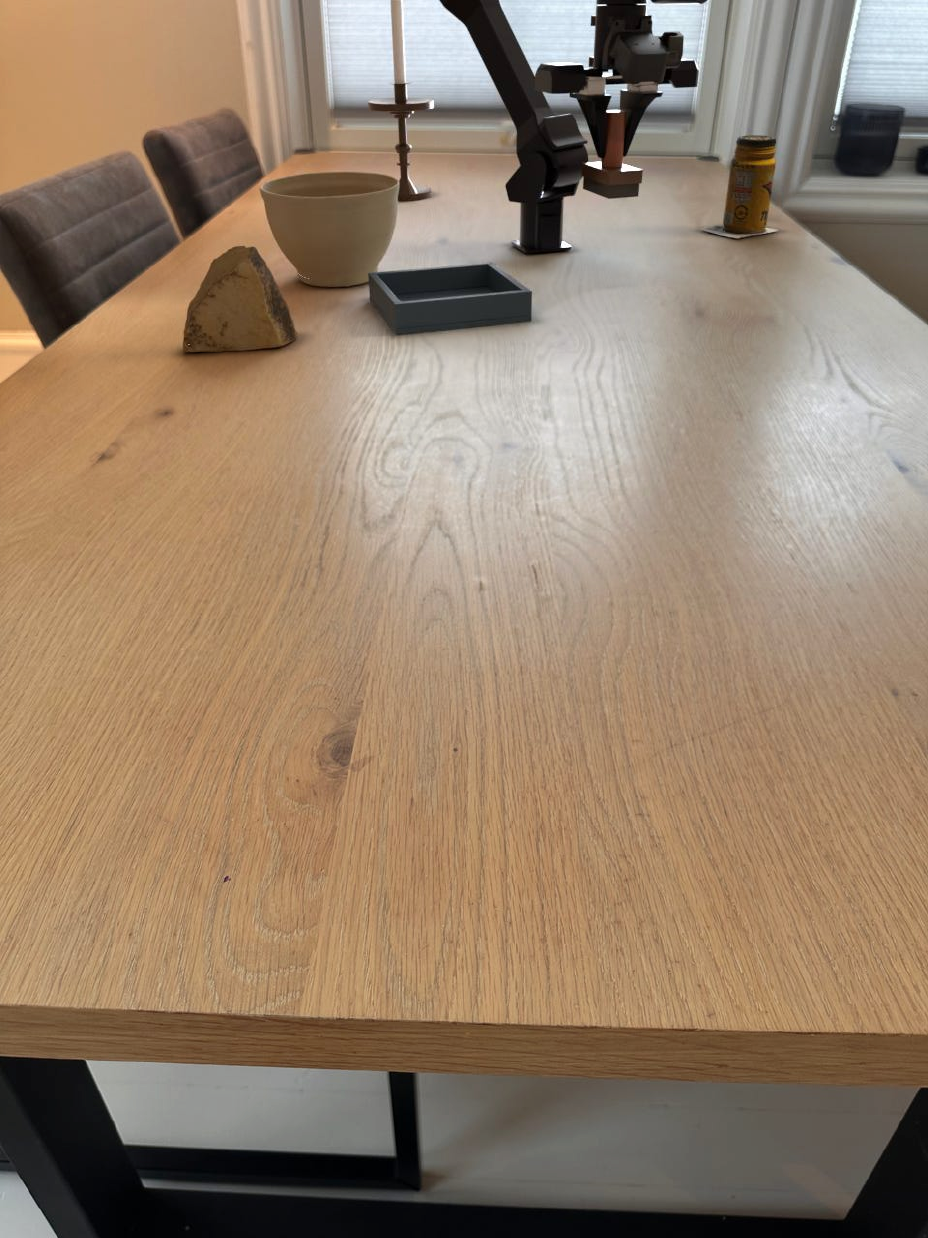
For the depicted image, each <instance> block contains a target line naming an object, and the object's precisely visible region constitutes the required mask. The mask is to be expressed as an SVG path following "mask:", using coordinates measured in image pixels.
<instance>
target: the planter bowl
mask: <svg viewBox="0 0 928 1238" xmlns="http://www.w3.org/2000/svg"><path fill="white" fill-rule="evenodd" d="M399 180H400V179H398V178H397V177H394V176H391V175H388V174H384V173H376V172H363V171H319V172H308V173H300V174H293V175H292V174H291V175H286V176H281V177H277V178H273V179H269V180H266V181H265V182H263V183H261V184H260V185H259V193H260V196H261V198H262V200H263V205H264V211H265V216H266V220H267V223H268V226H269V229H270V231H271V234H272V236H273V238H274V240H275V242H276V244H277V245H278V247H279V249H280V251H281V252H282V254H283V255H284V256H285V258H286V260H288V261H289V263H290V264H291V265H292V266H293V267H294V268H295V269H296V272H297V276H298V279H299V280H300V281H301V282H302V283H304V284H307V285H310V286H315V287H326V288H341V287H346V288H349V287H351V286H358V285H362V284H366V283H369V278H368V273H374V272H379V271H378V269H379V264H380V263H381V261H382V260H383V258H384V257H385V255H386V253H387V251H388V249H389V247H390V244H391V242H392V239H393V236H394V232H395V229H396V226H397V219H398V211H399V209H398V208H399V200H398V192H399ZM298 273H299V274H300V275H302V276H303V277H302V276H300V275H299V274H298ZM304 277H306V278H304ZM308 278H309V279H308Z"/></svg>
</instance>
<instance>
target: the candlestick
mask: <svg viewBox="0 0 928 1238" xmlns="http://www.w3.org/2000/svg"><path fill="white" fill-rule="evenodd" d="M403 7H404V5H403V0H390V17H391V18H390V19H391V38H392V40H391V41H392V59H393V77H394V78H393V81H391V82H388V84H389V85H393V94H394V97H392V98H391V97H390V98H379V99H378V98H377V99H371V100H368V101H367V106H368V107H367V108H368V110H369V111H375V112H388V114H390V115H392V116H393V118H395V119H397V131H398V143H397V144H396V145H395V146H394V150H395V152H396V154H398V161H397V162H396V166H399V173H400V174H399V175H400V177H399V179H398V180H399V192H398V202H399V201H404V202H405V201H417V200H418V201H419V200H424V199H428V198H430V197H432V188H431V187H428V186H425V185H424V186H422V185H415V184H413V182H412V180H411V178H410V177H409V166H411V165H412V162H411V161H409V154H410V153H411V151H412V145H411V144H410V143H408V135H407V134H408V133H407V119H408V118H411V115H413V114H414V113H415V112H419V111H428V110H432V109H434V108H435V99H432V98H428V97H427V98H425V97H408V85H409V84H413V82H412V81H407V78H406V77H407V74H406V53H405V52H406V49H405V32H404V31H405V29H404V27H405V26H404V8H403Z"/></svg>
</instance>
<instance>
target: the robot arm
mask: <svg viewBox="0 0 928 1238" xmlns="http://www.w3.org/2000/svg"><path fill="white" fill-rule="evenodd" d="M438 1H439V2H440V4H441V5H442V7H443V8H444V9H445V10H446V11H447V12H449V13H450V14H451V15H453V16H454V17H455V18H456V19H457V20H459V22H461V23H462V24H463V25H464V26H465V28H466V30H467V32H468V34H469V36H470V38H471V40H472V43H473V44H474V46H475V48H476V50H477V52H478V54H479V57H481V60H482V62H483V64H484V66H485V69H486V70H487V72H488V74H489V77H490V78H491V80H492V83H493V84H494V86H495V89H496V91H497V93H498V94H499V97H500V99H501V101H502V103H503V105H504V108H505V109H506V111H507V113H508V115H509V117H510V119H511V122H512V123H513V125H514V128H515V131H516V144H515V145H516V148H515V149H516V150H515V151H516V152H515V153H516V157H517V160H518V163H519V166H518V168H517V169H516V171H515V172H514V173H513V174H512V175H511V176H510V178H509V179H508V181H506V183H505V185H504V186H505V191H506V195H507V200H508V202H510V203H518V204H519V205H520V207H519V208H520V210H519V211H520V212H519V213H520V214H519V239H513V240H512V239H511V244H510V245H512V246H513V247H514V248H516V249H518V250H519V251H521V252H523V253H524V254H540V253H551V252H562V251H570V250H572V245H570V244H568V243H567V242H566V241H563V234H564V233H563V232H564V231H563V229H564V203H565V198H568V197H575V196H576V194H577V190H578V187H579V184H580V182H581V180H582V179H583V176H581V173H582V163H589V154H588V151H587V148H586V146H585V145H587V144H588V143H589V141H588V140H587V139H586V138H585V137H584V136H583V134H582V133H581V130H580V128H579V125H578V121H577V119H576V118H575V116H574V115H573V113H566V114H560V115H559V114H557V113H556V112H555V111H553V109H552V108H551V107H550V105H549V102H548V101H547V98H546V97H545V94H544V93H546V94H550V95H551V94H552V95H563V94H564V95H565V94H569V98H572V99H576V101H577V103H578V105H579V108H580V110H581V112H582V114H583V116H584V119H585V122H586V124H587V127H588V131H589V133H590V136H591V139H592V143H593V146H594V148H595V152H596V156H597V158H599V159H602V158H604V156H605V149H606V123H607V110H608V107H609V105H610V102H611V99H612V96H613V95H612V94H607V93H606V88H607V87H606V86H611V85H612V86H613V85H626V89H625V88H624V89H620V90H619V91H620V92H619V110H624V111H626V122H625V136H624V150H623V158H626V157H627V155H628V153H629V150H630V148H631V145H632V142H633V140H634V137H635V135H636V133H637V130H638V127H639V125H640V122H641V120H642V118H643V116H644V114H645V112H646V110H647V109H648V107H649V106H650V105H651V104H652V103H653V101H654V100H656V99H657V98H662V97H663V95H664V91H660V90H659V86H660V85H671V86H672V87H673V89H683V88H684V89H685V88H686V89H687V88H697V87H698V83H699V75H700V74H699V73H700V69H699V67H698V64H697V62H696V60H695V59H690V58H683V55H684V39H685V38H684V37H685V36H684V35H683V34H682V33H681V31H678V30H677V31H676V30H675V31H673V30H672V31H664V32H663V33H662V35H654V33H653V20H652V17H653V15H652V14H647V12H648V0H596V2H595V3H596V5H595V15H591V16H590V27H594V39H593V40H594V41H593V56H588V67H585V66H584V64H583V63H576V62H568V61H567V62H542V63H540V64H539V66H538V67H537V69H536V70H535V73H534V71H533V69H532V67H531V65H530V64H529V63H530V62H529V61H528V60H527V57H526V55H525V53H524V51H523V49H522V47H521V45H520V43H519V41H518V39H517V37H516V34H515V33H514V31H513V28H512V27H511V24H510V22H509V20H508V18H507V16H506V14H505V12H504V10H503V8H502V6H501V0H438ZM707 1H708V0H650V2H651V3H652V4H654V5H703V4H706V3H707ZM609 71H611V73H608V72H609Z"/></svg>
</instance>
